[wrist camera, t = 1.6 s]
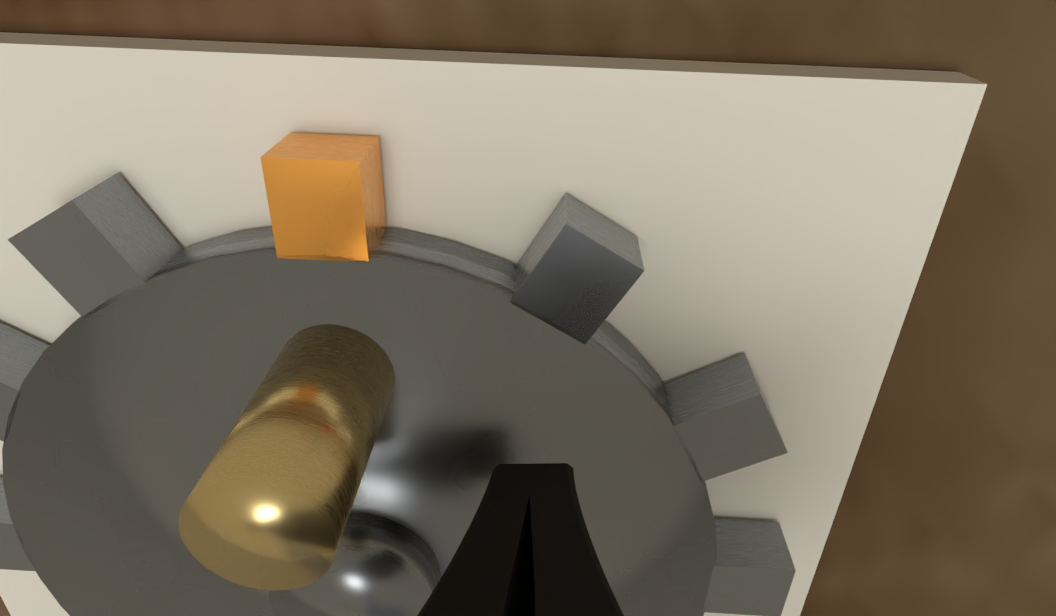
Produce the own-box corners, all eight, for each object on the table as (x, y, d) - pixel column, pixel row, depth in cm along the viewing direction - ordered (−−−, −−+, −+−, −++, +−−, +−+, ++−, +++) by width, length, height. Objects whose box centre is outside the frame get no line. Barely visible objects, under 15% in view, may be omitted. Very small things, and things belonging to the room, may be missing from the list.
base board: (734, 748, 23) (745, 801, 22) (92, 705, 24) (63, 754, 23) (957, 71, 12) (1006, 92, 11) (-243, 22, 13) (-339, 36, 12)
